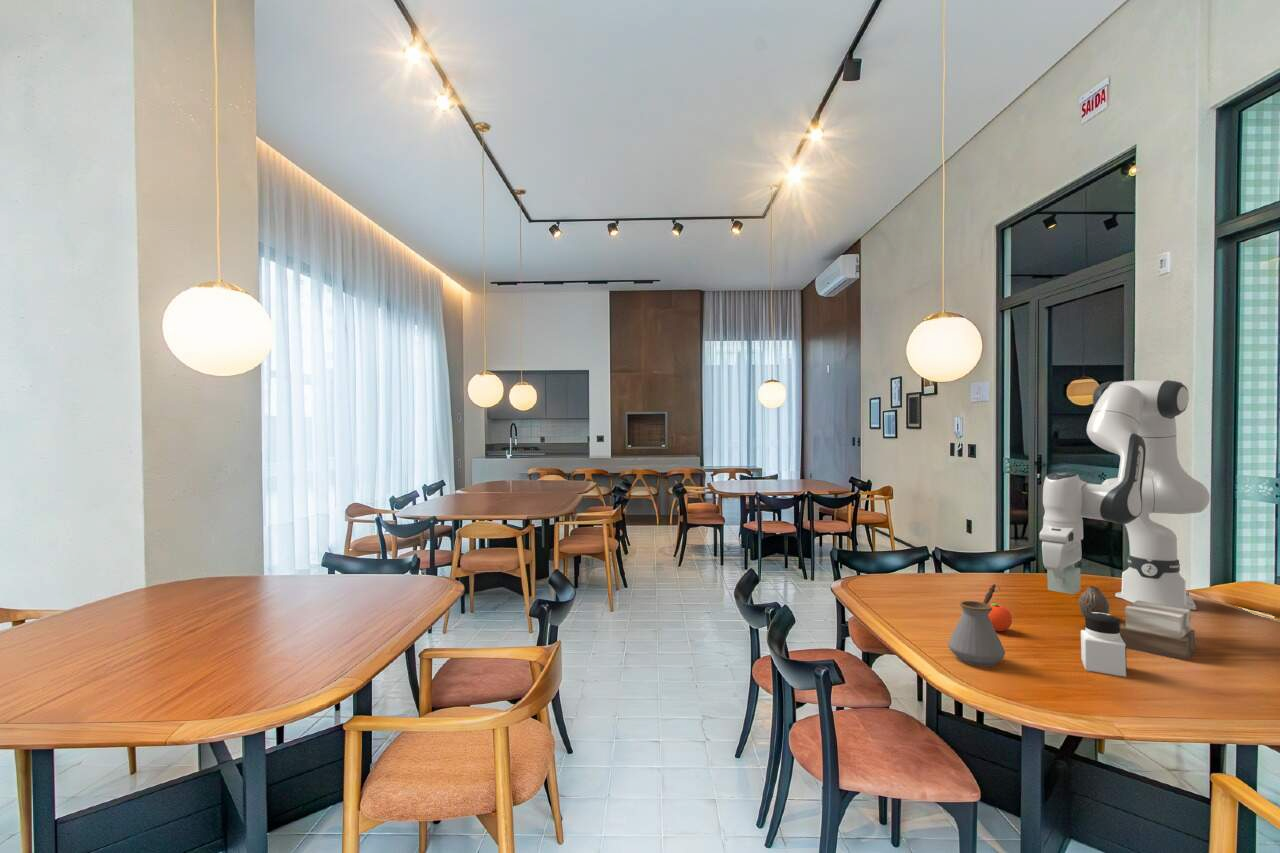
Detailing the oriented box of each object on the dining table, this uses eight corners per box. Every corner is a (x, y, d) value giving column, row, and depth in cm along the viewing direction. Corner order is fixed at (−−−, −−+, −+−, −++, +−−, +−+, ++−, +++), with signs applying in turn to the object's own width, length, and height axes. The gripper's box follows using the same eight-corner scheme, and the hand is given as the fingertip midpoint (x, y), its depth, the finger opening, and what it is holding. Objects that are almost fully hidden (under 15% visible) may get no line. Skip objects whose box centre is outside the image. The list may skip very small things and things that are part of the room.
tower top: (1137, 619, 147) (1137, 600, 147) (1190, 630, 139) (1190, 609, 139) (1125, 627, 141) (1125, 607, 141) (1180, 639, 133) (1179, 617, 133)
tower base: (1131, 637, 148) (1130, 618, 148) (1195, 650, 139) (1194, 630, 139) (1119, 648, 140) (1119, 628, 141) (1186, 663, 131) (1185, 641, 131)
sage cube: (1054, 585, 161) (1054, 564, 161) (1080, 590, 156) (1080, 568, 156) (1047, 589, 157) (1047, 568, 157) (1074, 594, 152) (1073, 572, 152)
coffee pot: (996, 674, 124) (995, 605, 125) (940, 659, 133) (939, 595, 133) (1023, 649, 139) (1022, 588, 139) (971, 637, 147) (970, 579, 148)
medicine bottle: (1127, 677, 122) (1125, 621, 123) (1085, 670, 126) (1084, 616, 126) (1120, 666, 128) (1119, 613, 129) (1081, 660, 132) (1080, 608, 132)
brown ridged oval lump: (1115, 622, 159) (1114, 590, 159) (1087, 620, 160) (1086, 589, 160) (1100, 614, 166) (1100, 584, 166) (1073, 613, 167) (1073, 583, 167)
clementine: (974, 625, 157) (974, 599, 157) (1000, 625, 157) (1000, 599, 157) (990, 635, 149) (990, 607, 149) (1018, 635, 149) (1017, 608, 149)
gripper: (1061, 525, 166) (1062, 573, 165) (1037, 534, 153) (1038, 585, 153) (1087, 528, 161) (1088, 577, 160) (1065, 537, 148) (1066, 590, 148)
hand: (1064, 581), depth 156 cm, fingers closed on sage cube, 6 cm apart
